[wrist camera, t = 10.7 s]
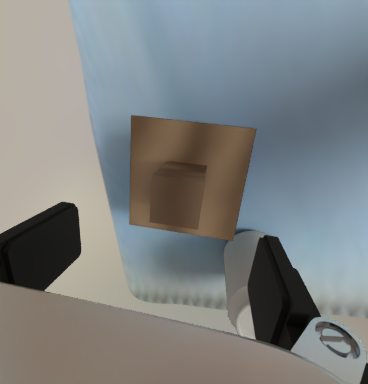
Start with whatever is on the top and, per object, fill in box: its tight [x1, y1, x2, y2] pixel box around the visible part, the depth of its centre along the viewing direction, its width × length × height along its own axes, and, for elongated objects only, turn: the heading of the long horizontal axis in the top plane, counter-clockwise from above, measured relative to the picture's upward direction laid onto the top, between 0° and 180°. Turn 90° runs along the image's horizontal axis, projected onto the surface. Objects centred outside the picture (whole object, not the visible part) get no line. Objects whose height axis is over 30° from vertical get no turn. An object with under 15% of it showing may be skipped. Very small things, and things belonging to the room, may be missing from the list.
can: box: [224, 231, 266, 340], centre depth 24 cm, size 8×8×12 cm
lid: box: [129, 115, 256, 241], centre depth 19 cm, size 12×12×7 cm
